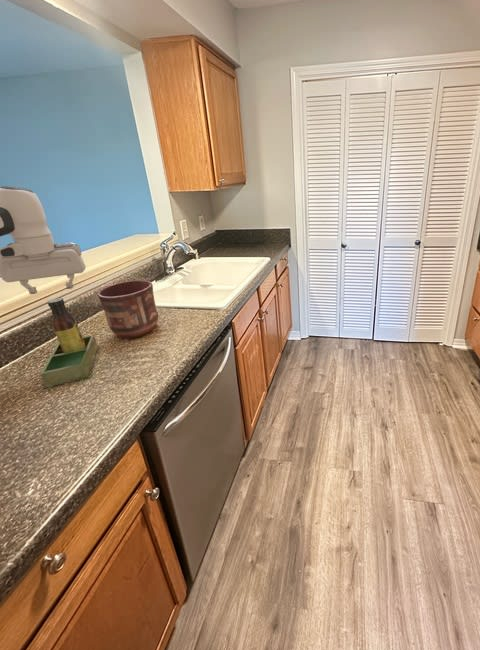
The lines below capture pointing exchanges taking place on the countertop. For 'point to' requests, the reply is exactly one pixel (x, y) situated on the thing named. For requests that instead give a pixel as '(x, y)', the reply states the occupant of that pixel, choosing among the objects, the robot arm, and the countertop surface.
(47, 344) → the countertop surface
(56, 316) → the sauce bottle
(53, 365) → the green shallow open box
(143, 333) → the pottery
